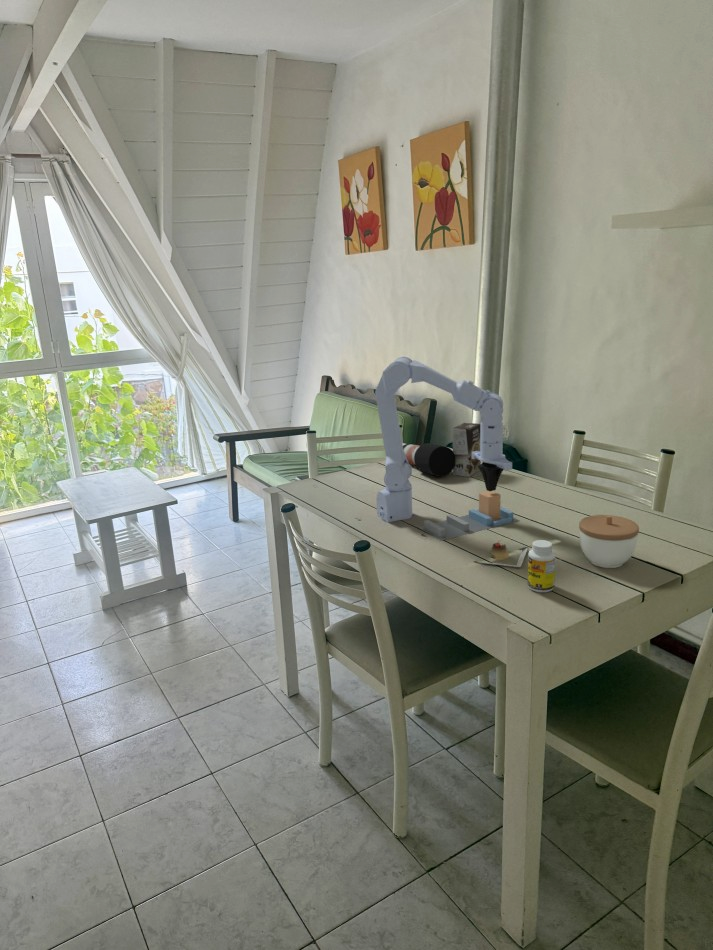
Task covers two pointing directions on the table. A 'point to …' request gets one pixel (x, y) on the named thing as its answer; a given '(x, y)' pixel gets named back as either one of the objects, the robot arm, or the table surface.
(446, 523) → the grey fixture plate
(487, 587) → the table surface
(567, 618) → the table surface
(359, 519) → the table surface
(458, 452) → the coffee box
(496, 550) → the dessert
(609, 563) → the lidded bowl
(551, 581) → the supplement bottle
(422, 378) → the robot arm
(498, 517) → the tan cardboard block
